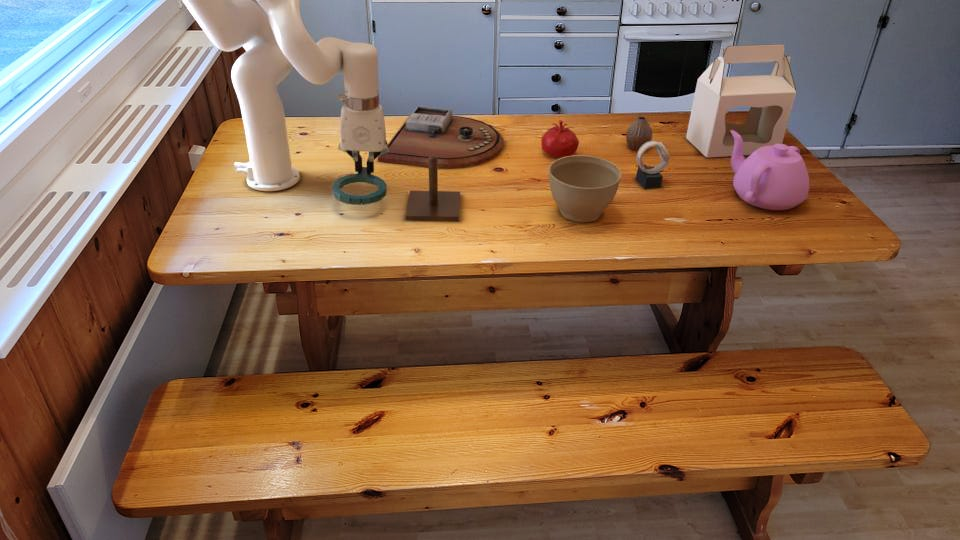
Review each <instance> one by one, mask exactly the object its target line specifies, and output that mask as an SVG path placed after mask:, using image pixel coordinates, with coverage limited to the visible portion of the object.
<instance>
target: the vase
mask: <svg viewBox="0 0 960 540" xmlns="http://www.w3.org/2000/svg"><path fill="white" fill-rule="evenodd" d="M625 140H626V144H627V146H628V148H630V149H631V150H633V151H636V152H638V150H639V149H640V147H641V146H642V145H643V144H645V143H647V142H649V141H653V130H652V126H651V125H650V123H649V121H648V119H647V117H646V116H641V115H640V116H639V115H638V116H637V117H636V119H635V120H634V121H633V122H632V123H630V125H629V126H628V128H627V131H626V135H625Z"/></svg>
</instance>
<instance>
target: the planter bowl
mask: <svg viewBox="0 0 960 540" xmlns="http://www.w3.org/2000/svg"><path fill="white" fill-rule="evenodd" d="M548 175H549V176H548V178H549V179H548V182H549V190H550V194H551V196H552V198H553V201H554V202H555V204H556V205H557V207H558V208H559V212H560V214H561V216H562V217H563V218H565V219H567V220H570V221H572V222H578V223H591V222H594V221H596V220H598V219H599V218H600V217H601V216H602V213H603V212H604V211H605V210H606V209H607V208H608V207H609V206H610V205H611V203H612V202H613V200H614V199H615V196H616V195H617V192H618V189H619V185H620V182H621V180H622V171H621V169H620V168H619V167H618V165H616V164H615V163H614V162H611V161H609V160H607V159H605V158H601V157H598V156H592V155H586V154H577V155H574V154H573V155H571V156H566V157H562V158H556V160H554V161H552V162H551V163H550V165H549V166H548Z"/></svg>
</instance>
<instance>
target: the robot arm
mask: <svg viewBox="0 0 960 540" xmlns="http://www.w3.org/2000/svg"><path fill="white" fill-rule="evenodd" d="M181 1H182V2H183V4H184V5H185V7H186V9H187V10H188V11H189V13H190V14H191V16H192V17H193V18H194V20H195V21H196V23H197V24H198V25H199V27H200V28H201V29H202V31H203V32H204V34H205V35H206V37H207V38H208V39H209V41H210V42H211V43H212V45H213V46H215V48H216V49H218V50H220V51H223V52H227V53H229V52H234V51H236V50H238V49H240V48H243V49H244V50H245V52H244V53H242V54H241V55H239V56H238V58H237V59H236V60H235V61H234V63H233V65H232V67H231V72H230V78H231V83H232V85H233V89H234V91H235V94H236V97H237V100H238V104H239V108H240V109H239V110H240V113H241V119H242V123H243V128H244V135H245V141H246V147H247V152H248V156H249V158H248V159H249V161H247V162H239V161H238V162H237V161H235V162H234V164H233V169H234V171H236V174H237V175H243V174H244V175H246V176H245V177H246V178H245V180H246V184H247V185H248V187H249V188H251V189H253V190H256V191H259V192H277V191H282V190H286V189H290V188H291V187H293V186H295V185H296V184H297V183H299V181H300V172H299V170H298V169H297V168H295V167H293V166H292V157H291V151H290V150H291V149H290V144H289V136H288V128H287V122H286V121H287V120H286V115H285V109H284V104H283V102H282V99H281V97H280V94H279V91H278V86H279V84H280V83H281V82H282V81H284V80H285V79H286V78H287V77H288V76H289V75H290V74H291V71H292V70H293V69H295V70H296V71H297V73H299V75H300V76H301V77H302V78H304V80H306V81H308V82H309V83H311V84H314V85H324V84H327V83H328V82H330V81H331V80H332V79H333V78H334V77H335V76H336V75H338V74H340V73H343V87H344V92H343V93H341V94H338V97H337V98H338V101H342V102H343V105H342V106H341V109H340V117H339V118H340V119H339V144H338V146H337V150H338V151H341V152H343V153H347V155H348V156H349V157H350V158H351V159H352V160H353V162H354V172H355V173H357V174H359V173H360V172H361V169H362V167H363V157H362V156H361V153H360V152H368V157H367V160H366V167H367V174H371V175H372V173H374V172H375V160H376V159H378V157H379V155H381V154H385V153H388V152H389V146H388V143H389V142H388V141H387V133H386V132H387V131H386V122H385V114H384V109H383V106H382V104H380V93H379V91H380V89H379V88H380V85H379V83H380V82H379V53H378V49H377V48H376V46H374V45H373V44H371V43H367V42H351V41H347V40H345V39H341V38H338V37H335V36H325V37H322V38H320V39H319V40H318V41H317V42H316V41H315V39H313V38H312V37H311V35H310V34H309V32H308V31H307V28H306V27H305V25H304V22H303V19H302V16H301V11H300V10H301V9H300V8H301V7H300V6H301V5H300V4H301V0H255V1H256V2H257V3H256V2H255V1H253V0H181Z"/></svg>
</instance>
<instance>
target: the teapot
mask: <svg viewBox="0 0 960 540" xmlns="http://www.w3.org/2000/svg"><path fill="white" fill-rule="evenodd" d="M730 132H731V133H732V135H733V137H734V149H733V153H732V156H730V157H731V158H730V167H731V171H732V172H733V174H734V176H733V180H732V185H733V188H734V190H735V192H736V194H737V195H738V196H739V198H740V199H741V200H743V201H744V202H746V203H747V204H750V205H751V206H754V207H757V208H760V209H765V210H770V211H785V210H786V211H787V210H790V209H794V208H795V207H797V206H799V205H800V204H802V203H803V202H804V201H806V199H807V198H808V196H809V191H810V177H809V171H808V169H807V166H806V163H805V160H804V159H803V156H802V155H801V154H800V153H801V151H800V149H799V147H797V146H795V145H790V146H789V145H787V144H785V143H782V144H774V146H763V147H760V148H758V149H757V150H756V151H754V152H753V153H752V154H751V155H748V157H747V158H745V155H743V140H742V137H741V136H740V135H739V134H738V133H737V132H735V131H734V130H730Z"/></svg>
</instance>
